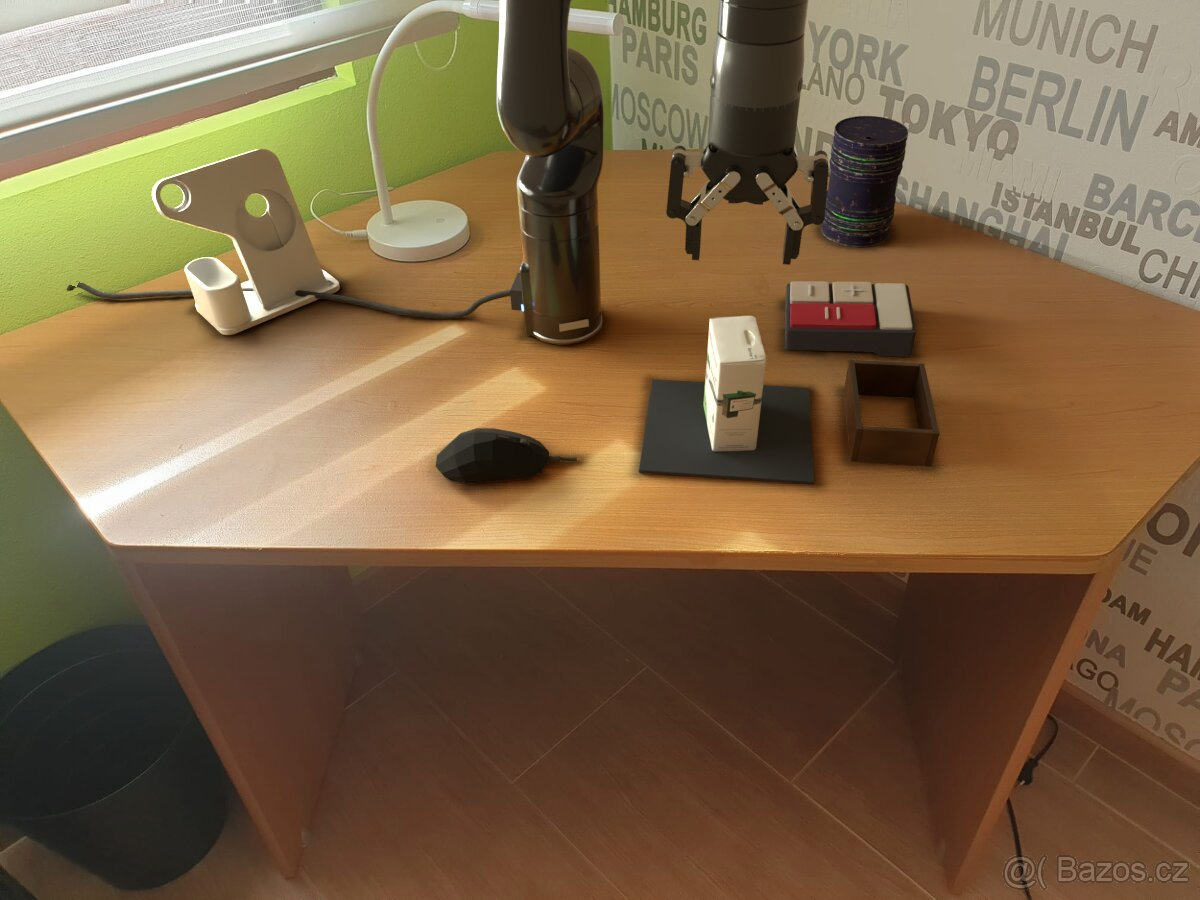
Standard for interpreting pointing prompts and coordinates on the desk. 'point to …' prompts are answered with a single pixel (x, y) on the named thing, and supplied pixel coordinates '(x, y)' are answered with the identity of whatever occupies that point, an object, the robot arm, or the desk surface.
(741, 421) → the ink box
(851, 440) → the box
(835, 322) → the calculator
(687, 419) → the mat
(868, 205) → the navy blue cylinder
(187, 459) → the desk surface
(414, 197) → the desk surface
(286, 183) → the phone holder
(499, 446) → the gaming mouse
